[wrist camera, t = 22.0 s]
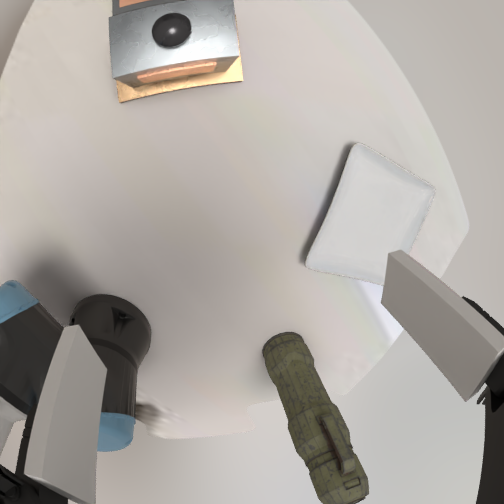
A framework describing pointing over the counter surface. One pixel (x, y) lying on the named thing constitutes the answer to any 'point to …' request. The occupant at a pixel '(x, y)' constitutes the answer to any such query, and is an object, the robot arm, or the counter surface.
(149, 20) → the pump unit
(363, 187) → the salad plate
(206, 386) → the counter surface
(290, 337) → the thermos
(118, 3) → the mat
